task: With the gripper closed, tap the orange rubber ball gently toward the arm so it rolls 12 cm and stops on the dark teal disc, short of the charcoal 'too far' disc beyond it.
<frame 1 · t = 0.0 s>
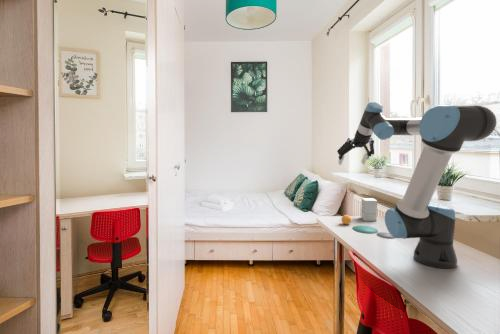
hand: (351, 163, 162), 36 cm above the table, tool tilted 35°, fingers open, 13 cm apart
ball: (346, 219, 170), on the table
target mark: (365, 229, 161), on the table
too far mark: (386, 235, 151), on the table
supplement box: (368, 219, 181), on the table
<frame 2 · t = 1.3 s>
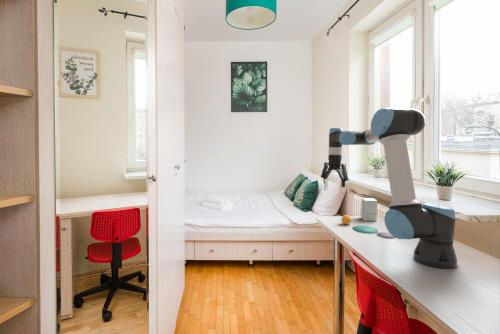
hand: (333, 190, 176), 18 cm above the table, tool pointing down, fingers open, 11 cm apart
nothing on the table moved.
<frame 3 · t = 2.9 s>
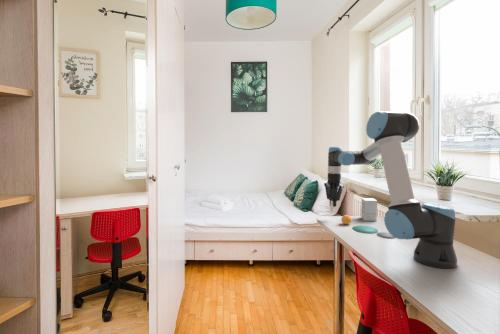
hand: (332, 211, 178), 6 cm above the table, tool pointing down, fingers closed
nothing on the table moved.
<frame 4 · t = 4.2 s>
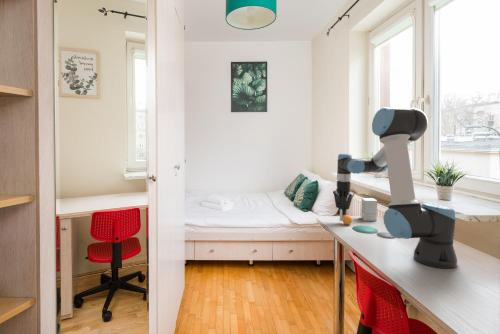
hand: (341, 220, 172), 2 cm above the table, tool pointing down, fingers closed
ball: (347, 219, 170), on the table, touching gripper
everything else where it was.
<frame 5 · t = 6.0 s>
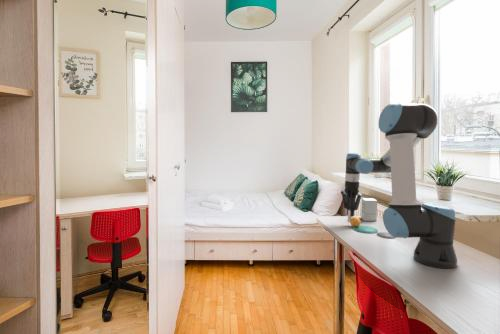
hand: (350, 221, 168), 2 cm above the table, tool pointing down, fingers closed
ball: (355, 222, 166), on the table, touching gripper
everything else where it was.
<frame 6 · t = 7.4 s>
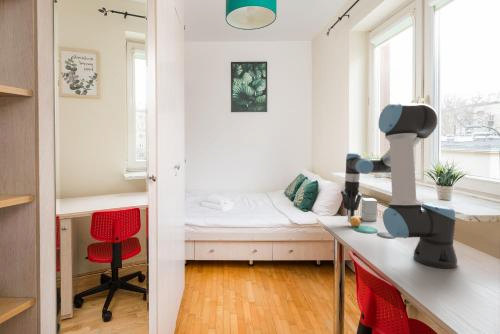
hand: (350, 221, 168), 2 cm above the table, tool pointing down, fingers closed
nothing on the table moved.
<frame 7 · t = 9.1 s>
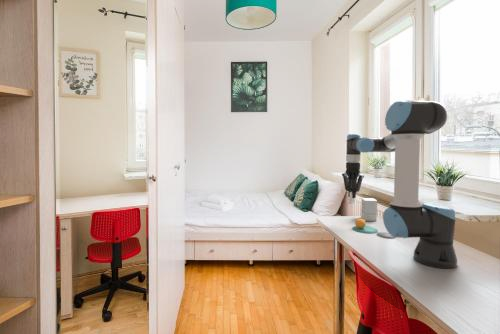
hand: (351, 203, 166), 13 cm above the table, tool pointing down, fingers closed
ball: (360, 223, 163), on the table
everything else where it was.
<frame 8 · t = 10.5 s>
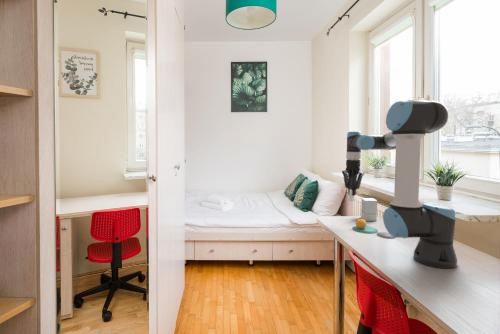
hand: (351, 200, 167), 14 cm above the table, tool pointing down, fingers closed
nothing on the table moved.
at the end: ball 2.3 cm from the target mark (horizontally); ball at rest at the end (0.0 cm/s); ball moved 9.8 cm from its start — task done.
